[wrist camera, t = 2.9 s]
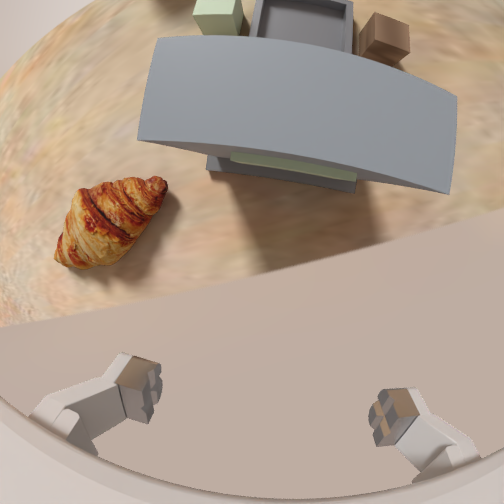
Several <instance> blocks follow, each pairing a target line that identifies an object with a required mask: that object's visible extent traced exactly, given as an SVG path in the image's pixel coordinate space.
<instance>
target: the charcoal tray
mask: <svg viewBox="0 0 504 504" xmlns="http://www.w3.org/2000/svg"><path fill="white" fill-rule="evenodd" d="M352 35H353V2H352V1H348V0H256V3H255V8H254V13H253V17H252V22H251V28H250V33H249V37H260V38H270V39H278V40H286V41H292V42H299V43H304V44H310V45H315V46H320V47H325V48H329V49H333V50H337V51H341V52H345V53H349V54H352Z"/></svg>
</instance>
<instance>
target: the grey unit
mask: <svg viewBox="0 0 504 504" xmlns="http://www.w3.org/2000/svg"><path fill="white" fill-rule="evenodd" d="M456 129H457V96H455V95H453V94H451V93H450V92H448V91H446V90H444V89H442V88H440V87H438V86H436V85H433V84H431V83H429V82H427V81H425V80H423V79H420V78H418V77H416V76H413V75H411V74H408V73H406V72H403V71H401V70H398V69H396V68H393V67H390V66H387V65H385V64H382V63H379V62H376V61H373V60H370V59H366V58H363V57H360V56H356V55H353V54H349V53H345V52H341V51H337V50H333V49H329V48H325V47H320V46H315V45H310V44H304V43H299V42H292V41H286V40H278V39H270V38H260V37H247V36H227V35H197V36H176V37H164V38H158V39H157V43H156V46H155V50H154V54H153V58H152V62H151V66H150V70H149V75H148V79H147V84H146V89H145V94H144V99H143V105H142V110H141V116H140V123H139V129H138V136H137V140H139V141H145V142H150V143H156V144H161V145H166V146H171V147H175V148H180V149H185V150H189V151H194V152H198V153H202V154H207V155H208V156H207V164H206V170H211V171H220V172H229V173H237V174H245V175H252V176H259V177H266V178H273V179H279V180H285V181H291V182H297V183H303V184H308V185H314V186H319V187H324V188H329V189H334V190H339V191H344V192H349V193H354V194H355V189H356V183H357V179H359V180H367V181H374V182H381V183H388V184H394V185H400V186H406V187H412V188H418V189H423V190H428V191H433V192H438V193H443V194H448V195H449V193H450V187H451V180H452V173H453V165H454V156H455V145H456Z"/></svg>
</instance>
